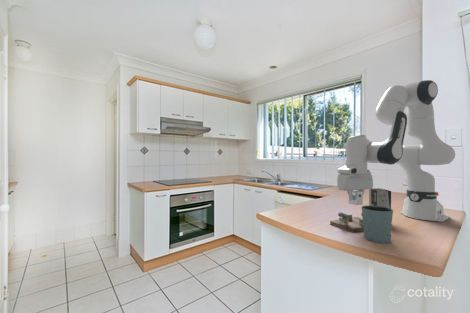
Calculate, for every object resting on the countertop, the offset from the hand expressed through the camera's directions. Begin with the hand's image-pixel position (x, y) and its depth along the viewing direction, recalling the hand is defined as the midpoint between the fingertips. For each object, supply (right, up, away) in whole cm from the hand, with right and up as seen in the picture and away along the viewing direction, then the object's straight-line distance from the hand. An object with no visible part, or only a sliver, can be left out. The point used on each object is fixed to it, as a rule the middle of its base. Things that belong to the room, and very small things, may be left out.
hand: (355, 199), depth 100 cm
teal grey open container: (-1, -12, -16) cm, 20 cm away
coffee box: (+15, -13, +6) cm, 20 cm away
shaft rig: (0, -12, 0) cm, 12 cm away
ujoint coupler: (0, -2, 0) cm, 2 cm away
